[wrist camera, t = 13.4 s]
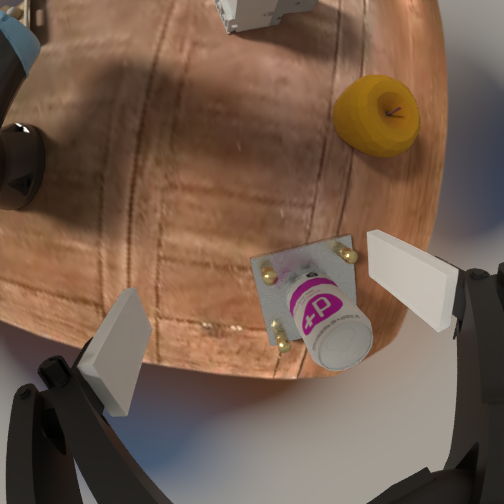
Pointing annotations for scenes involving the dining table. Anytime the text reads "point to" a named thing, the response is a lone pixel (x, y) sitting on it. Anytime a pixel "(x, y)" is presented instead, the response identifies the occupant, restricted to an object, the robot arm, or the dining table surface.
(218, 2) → the circuit breaker
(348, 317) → the supplement can
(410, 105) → the apple
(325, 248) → the plate
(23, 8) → the toy food set
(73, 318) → the dining table surface
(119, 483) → the robot arm
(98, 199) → the dining table surface
